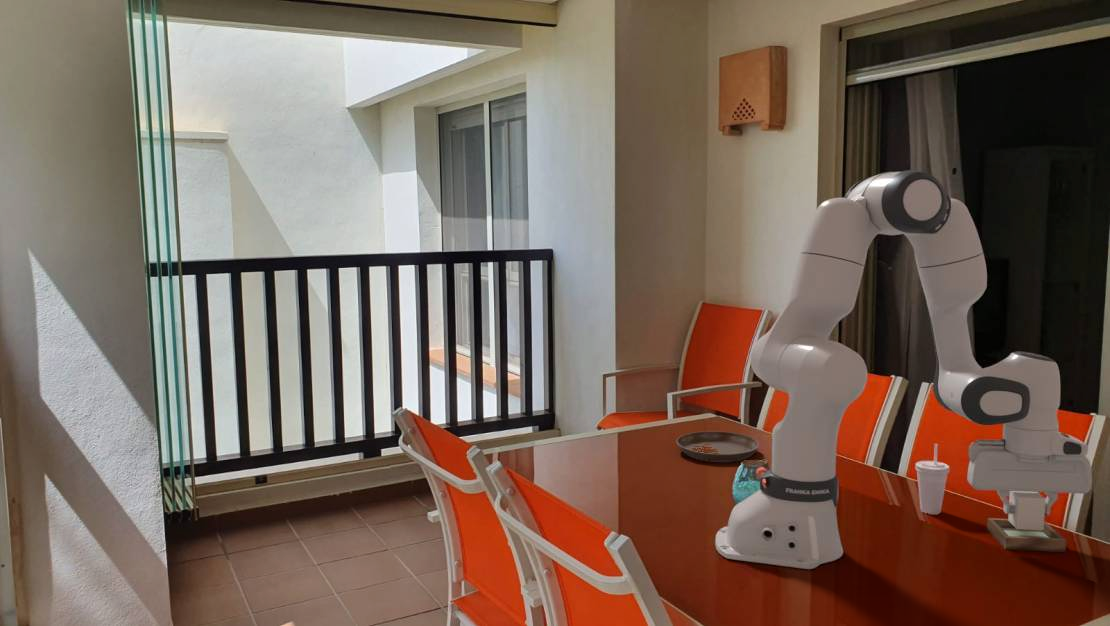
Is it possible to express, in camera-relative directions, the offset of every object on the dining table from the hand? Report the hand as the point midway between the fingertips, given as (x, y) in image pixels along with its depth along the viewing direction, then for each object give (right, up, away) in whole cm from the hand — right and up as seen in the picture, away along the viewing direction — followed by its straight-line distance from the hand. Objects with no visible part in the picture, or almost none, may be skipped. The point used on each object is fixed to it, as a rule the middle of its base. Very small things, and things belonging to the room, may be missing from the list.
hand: (1026, 513), depth 157 cm
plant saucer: (-45, +1, +61) cm, 76 cm away
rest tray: (0, -5, 0) cm, 5 cm away
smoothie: (-11, -4, +16) cm, 20 cm away
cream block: (0, -2, 0) cm, 2 cm away
